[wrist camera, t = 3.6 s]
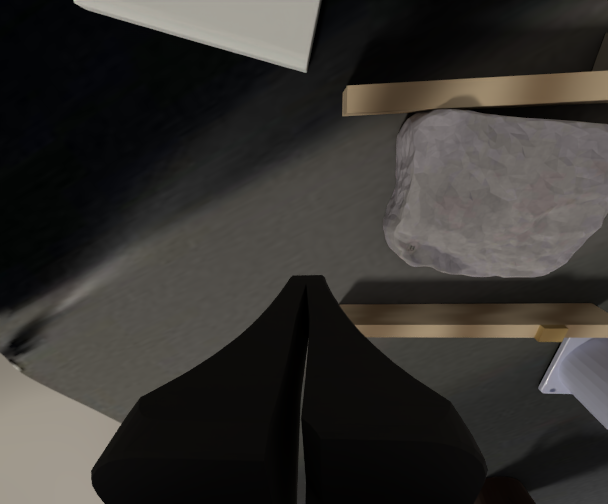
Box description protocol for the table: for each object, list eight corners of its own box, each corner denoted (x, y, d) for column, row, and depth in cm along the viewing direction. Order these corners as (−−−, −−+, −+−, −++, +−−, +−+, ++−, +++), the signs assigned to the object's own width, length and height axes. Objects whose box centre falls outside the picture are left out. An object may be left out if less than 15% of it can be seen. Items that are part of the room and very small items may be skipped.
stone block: (512, 252, 21) (609, 114, 15) (553, 294, 17) (707, 132, 11) (367, 236, 21) (401, 98, 15) (374, 275, 17) (424, 109, 11)
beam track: (752, 8, 12) (901, -35, 9) (585, 315, 20) (634, 348, 17) (344, 36, 14) (352, 7, 10) (338, 316, 22) (341, 347, 19)
